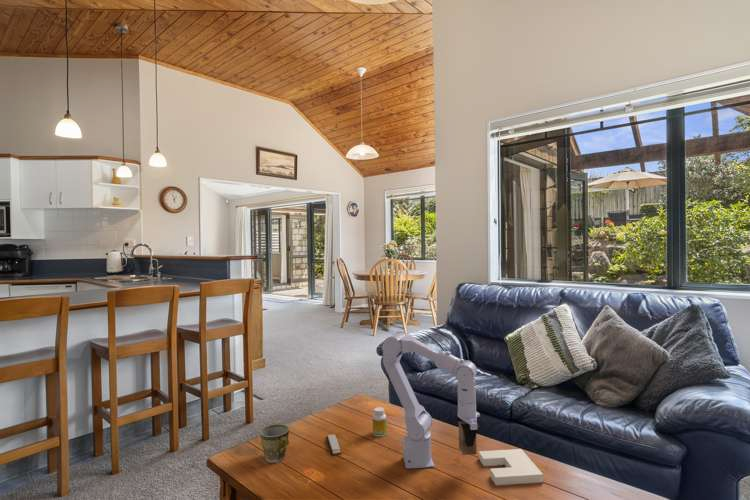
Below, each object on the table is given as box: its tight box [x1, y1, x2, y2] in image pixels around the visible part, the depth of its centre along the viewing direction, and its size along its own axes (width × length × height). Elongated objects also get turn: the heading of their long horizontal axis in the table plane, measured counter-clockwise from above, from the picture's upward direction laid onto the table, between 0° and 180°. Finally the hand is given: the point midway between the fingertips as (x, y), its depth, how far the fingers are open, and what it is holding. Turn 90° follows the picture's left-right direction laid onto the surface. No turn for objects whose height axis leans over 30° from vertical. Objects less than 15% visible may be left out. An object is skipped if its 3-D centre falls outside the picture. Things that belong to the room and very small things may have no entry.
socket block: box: [478, 448, 544, 486], centre depth 133 cm, size 15×16×2 cm
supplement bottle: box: [372, 406, 388, 438], centre depth 160 cm, size 5×5×10 cm
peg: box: [458, 421, 477, 456], centre depth 132 cm, size 4×4×9 cm
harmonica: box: [326, 434, 342, 457], centre depth 152 cm, size 15×3×2 cm, turn 15°
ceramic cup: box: [259, 423, 290, 464], centre depth 142 cm, size 13×10×10 cm
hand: (467, 442), depth 132 cm, fingers closed on peg, 4 cm apart
